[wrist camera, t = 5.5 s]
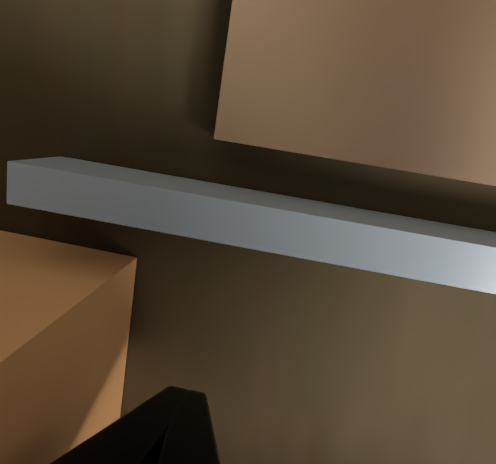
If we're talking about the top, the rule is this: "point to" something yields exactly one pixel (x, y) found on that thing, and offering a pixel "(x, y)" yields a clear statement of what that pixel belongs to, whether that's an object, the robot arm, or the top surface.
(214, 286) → the top surface
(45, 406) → the block
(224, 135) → the coaster
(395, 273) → the channel
